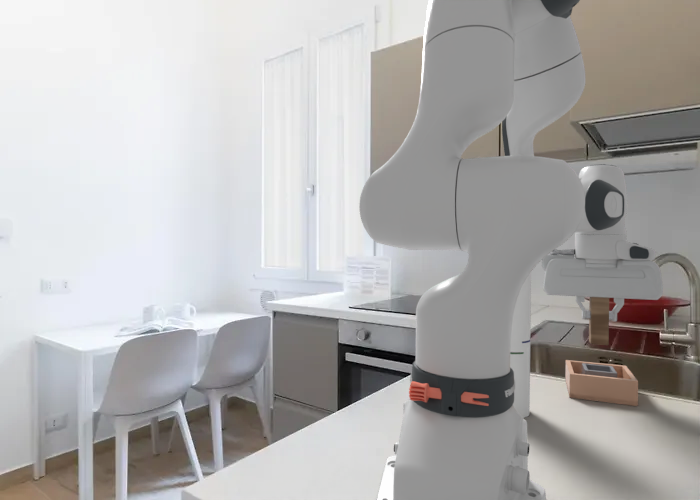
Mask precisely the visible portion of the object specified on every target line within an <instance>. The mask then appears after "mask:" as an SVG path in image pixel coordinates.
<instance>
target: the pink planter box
mask: <svg viewBox="0 0 700 500" xmlns="http://www.w3.org/2000/svg"><path fill="white" fill-rule="evenodd" d="M564 380H565V385H566V389H567V394H568V397H569V398H571V399H576V400H577V399H579V400H586V401H593V402H594V401H595V402H601V403H609V404H617V405H618V404H619V405H624V406H633V407H638V405H639V381H638V379H637V377H635V376H634V374H633V372H632V371H631V370H630V369H629V368H628V366H627V365H621V364H612V363H602V362H601V363H600V362H592V361H591V362H590V361H580V360H573V359H572V360H569V359H565V379H564Z"/></svg>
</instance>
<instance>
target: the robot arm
mask: <svg viewBox="0 0 700 500" xmlns="http://www.w3.org/2000/svg"><path fill="white" fill-rule="evenodd" d="M580 1H581V0H428V3H427V8H426V9H427V10H426V21H425V27H424V35H423V43H422V44H423V48H422V65H421V80H420V81H421V83H420V90H419V97H418V98H419V99H418V104H417V105H418V106H417V110H416V114H415V118H414V120H413V123H412V126H411V128H410V129H409V131H408V133H407V136H406V137H405V138H404V140H403V142H402V143H401V145H400V146H399V147H398V149H397V150H396V151H395V152H394V153H393V155H392V156H390V158H389V159H388V160H387V161H386V162H385V163H384V164H383V165H382V166H380V167H379V168H378V169H376V170H374V172H372V173H371V174H370V176H369V177H368V178H367V180H366V181H365V183H364V186H363V187H362V189H361V193H360V197H359V215H360V220H361V223H362V225H363V227H364V229H365V231H366V233H367V235H368V237H370V239H372V240H373V241H374V242H375V243H377V244H379V245H384V246H389V247H394V248H398V249H403V250H409V251H461V252H465V253H467V254H468V257H467V258H468V259H467V265H466V267H465V268H464V270H463V271H462V272H460V273H459V274H457V275H454V276H452V277H450V278H447V279H445V280H443V281H441V282H439V283H437V284H435V285H433V286H431V287H430V288H429V289H427V290H426V291H424V293H423V294H422V295H421V297H420V298H419V300H418V301H417V304H416V307H415V360H414V361H413V362H412V366H411V372H410V377H409V383H410V384H409V388H408V390H409V391H408V394H409V395H408V397H409V399H407V400H406V401H404V402H403V404H402V405H403V408H402V409H403V414H402V415H403V416H402V422H401V425H400V426H401V427H400V433H399V438H398V441H396V442H395V443H394V444H393V452H394V455H389V456H388V457H387V458H386V459H385V463H384V467H383V471H382V476H381V479H380V483H379V487H378V490H377V495H376V500H547V494H546V489H545V488H544V486H542V485H541V484H539V483H537V482H536V481H534V480H533V479H532V480H531V478H530V477H531V476H530V471H529V467H528V466H529V465H528V463H529V458H528V457H529V455H530V443H529V442H528V422H527V420H526V419H524V418H523V417H522V416H521V415H520V414H519V413H518V412H517V411H516V410H515V408H514V406H513V403H514V391H515V380H514V371H513V370H512V369H511V368H510V350H511V333H512V323H513V314H514V309H515V304H516V301H517V297H518V295H519V292H520V290H521V288H522V286H523V284H524V282H525V280H526V279H527V277H528V276H529V274H530V273H531V274H532V271H534V269H535V268H536V266H537V265H538V264H539V263H540V262H541V267H542V269H543V270H544V277H543V288H542V289H543V292H544V293H545V294H546V295H548V296H562V297H563V296H564V297H575V302H576V303H577V305H578V307H579V308H580V309H581V320H588V321H589V320H591V316H590V315H591V311H590V310H589V309H586V307H585V306H584V305H583V303H585V302H586V301H585V300H586V299H585V298H587V297H588V298H590V297H604V298H609V299H613V303H614V304H615V305H614V307H613V309H612V310H609V322H617V321H618V313H619V312H620V310H621V309H622V308H623V306H625V299H627V300H629V299H631V300H650V301H651V300H652V301H658V300H659V299H660V298H661V297H662V296H663V294H664V293H663V292H664V286H663V285H664V284H663V276H662V272H661V268H660V266H659V265H658V264H657V263H656V262H655V259H656V257H657V251H656V250H655V249H654V248H652V247H648V246H645V245H644V246H643V245H641V244H639V243H637V242H636V243H635V242H629V241H628V238H627V237H628V236H627V235H628V230H627V228H626V224H625V221H626V216H627V215H628V190H627V183H626V177H625V173H624V170H623V169H622V168H621V167H619V166H616V165H613V164H605V163H603V164H591V165H588V166H585V167H583V168H581V169H580V171H579V173H577V172H576V170H575V169H574V168H573V167H572V166H571V165H570V164H569V163H568V162H566V160H564V159H560V158H559V159H558V158H551V157H544V156H538V155H537V156H536V155H535V153H534V152H535V151H534V140H535V138H536V136H537V134H538V133H539V132H540V131H542V130H544V129H545V128H547V127H549V126H550V125H552V124H553V123H555V122H556V121H557V120H559V119H560V118H562V117H563V116H564V115H565V114H567V113H568V112H569V111H570V110H571V109H572V108H573V107H574V106H575V105H576V104H577V103H578V101H579V100H580V99H581V96H582V95H583V92H584V90H585V86H586V68H585V62H584V58H583V53H582V49H581V45H580V41H579V38H578V36H577V35H578V34H577V32H576V29H575V26H574V23H573V20H572V18H571V15H572V12H573V8H575V6H576V5H578V4H579V3H580ZM500 124H501V127H502V128H501V134H502V145H503V152H504V155H500V156H486V157H474V158H462V156H463V153H464V152H465V151H466V149H468V147H469V146H470V145H471V144H472V143H473V142H475V141H476V140H477V139H479V138H481V137H483V136H485V135H486V134H488V133H490V132H492V131H493V130H495V129H496V128H497V127H498V126H499V125H500ZM573 235H574V249H557V248H559V247H562V245H563V244H565V243H566V242H567V241H568V240H570V238H571V237H572V236H573ZM653 260H654V261H653Z"/></svg>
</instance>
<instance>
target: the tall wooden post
mask: <svg viewBox="0 0 700 500" xmlns="http://www.w3.org/2000/svg"><path fill="white" fill-rule="evenodd" d="M588 304H589V307H588V308H589V309H588V310H590V311H591V315H590V316H591V320H588V321H589V323H588V324H589V325H588V342H589V343H590V345H598V346H609V340H610V339H609V337H610V336H609V333H610V331H609V330H610V326H609V325H610V321H609V311H610V298H604V297H589V303H588Z"/></svg>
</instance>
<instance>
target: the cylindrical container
mask: <svg viewBox="0 0 700 500" xmlns="http://www.w3.org/2000/svg"><path fill="white" fill-rule="evenodd" d="M531 299H532V272H531V273H530V274H529V276H528V277H527V279H526V280H525V282H524V284H523V286H522V288H521V290H520V292H519V295H518V297H517V301H516V304H515V309H514V314H513V323H512V333H511V350H510V368H511V369H512V370H513V371H514V380H515V391H514V403H513V406H514V408H515V410H516V411H517V412H518V413H519V414H520V415H521V416H522V417H523V419H524V418H527V417H528V416H529V415H530V411H531V410H530V408H531V407H530V403H531V400H530V399H531V395H530V394H531V393H530V392H531V391H530V390H531V325H532V323H531V322H532V321H531V319H532V318H531V315H532V314H531V313H532V310H531V309H532V301H531Z"/></svg>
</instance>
